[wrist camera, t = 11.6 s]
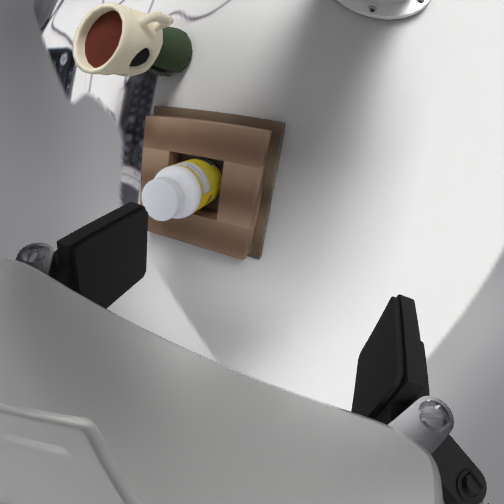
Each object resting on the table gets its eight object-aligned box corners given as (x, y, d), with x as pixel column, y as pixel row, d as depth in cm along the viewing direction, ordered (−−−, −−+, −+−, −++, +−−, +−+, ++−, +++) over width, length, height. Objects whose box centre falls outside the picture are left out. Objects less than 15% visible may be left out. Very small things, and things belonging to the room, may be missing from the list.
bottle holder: (158, 106, 35) (139, 106, 32) (285, 123, 32) (276, 123, 29) (150, 224, 43) (133, 233, 39) (260, 256, 39) (250, 270, 36)
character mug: (143, 93, 35) (65, 95, 24) (132, 47, 33) (56, 37, 22) (219, 61, 31) (151, 41, 20) (205, 11, 29) (137, -22, 17)
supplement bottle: (194, 206, 38) (147, 234, 30) (179, 165, 37) (127, 182, 28) (233, 193, 36) (192, 220, 28) (217, 149, 34) (169, 162, 26)
